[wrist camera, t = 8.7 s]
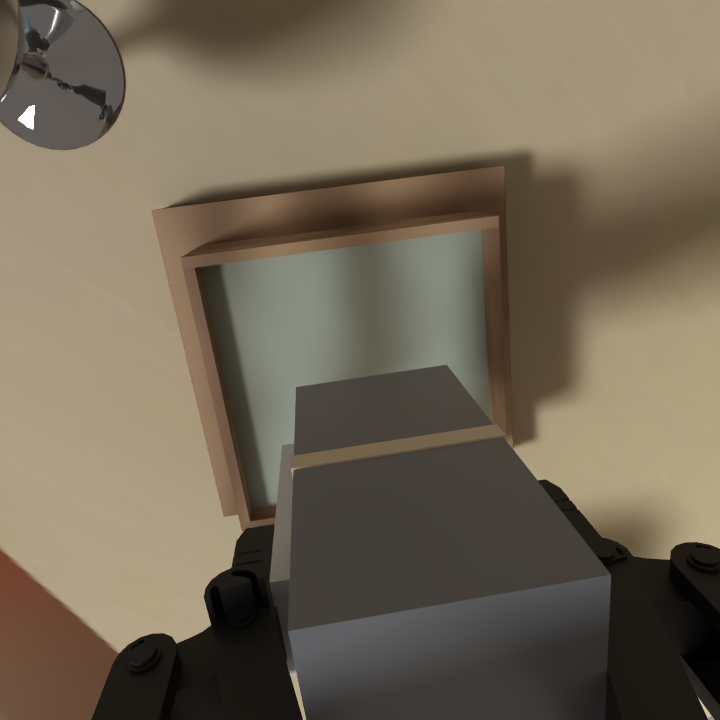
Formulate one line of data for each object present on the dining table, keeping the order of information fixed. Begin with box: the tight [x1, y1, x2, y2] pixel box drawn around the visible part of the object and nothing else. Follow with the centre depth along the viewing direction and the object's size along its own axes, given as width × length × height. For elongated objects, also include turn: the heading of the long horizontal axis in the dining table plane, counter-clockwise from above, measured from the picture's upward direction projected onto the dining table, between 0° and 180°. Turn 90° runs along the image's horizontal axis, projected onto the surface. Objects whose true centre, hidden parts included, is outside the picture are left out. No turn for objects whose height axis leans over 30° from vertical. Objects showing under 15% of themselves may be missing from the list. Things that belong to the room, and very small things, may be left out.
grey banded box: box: [288, 365, 611, 720], centre depth 14 cm, size 5×6×10 cm
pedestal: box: [152, 166, 513, 531], centre depth 29 cm, size 18×18×7 cm
